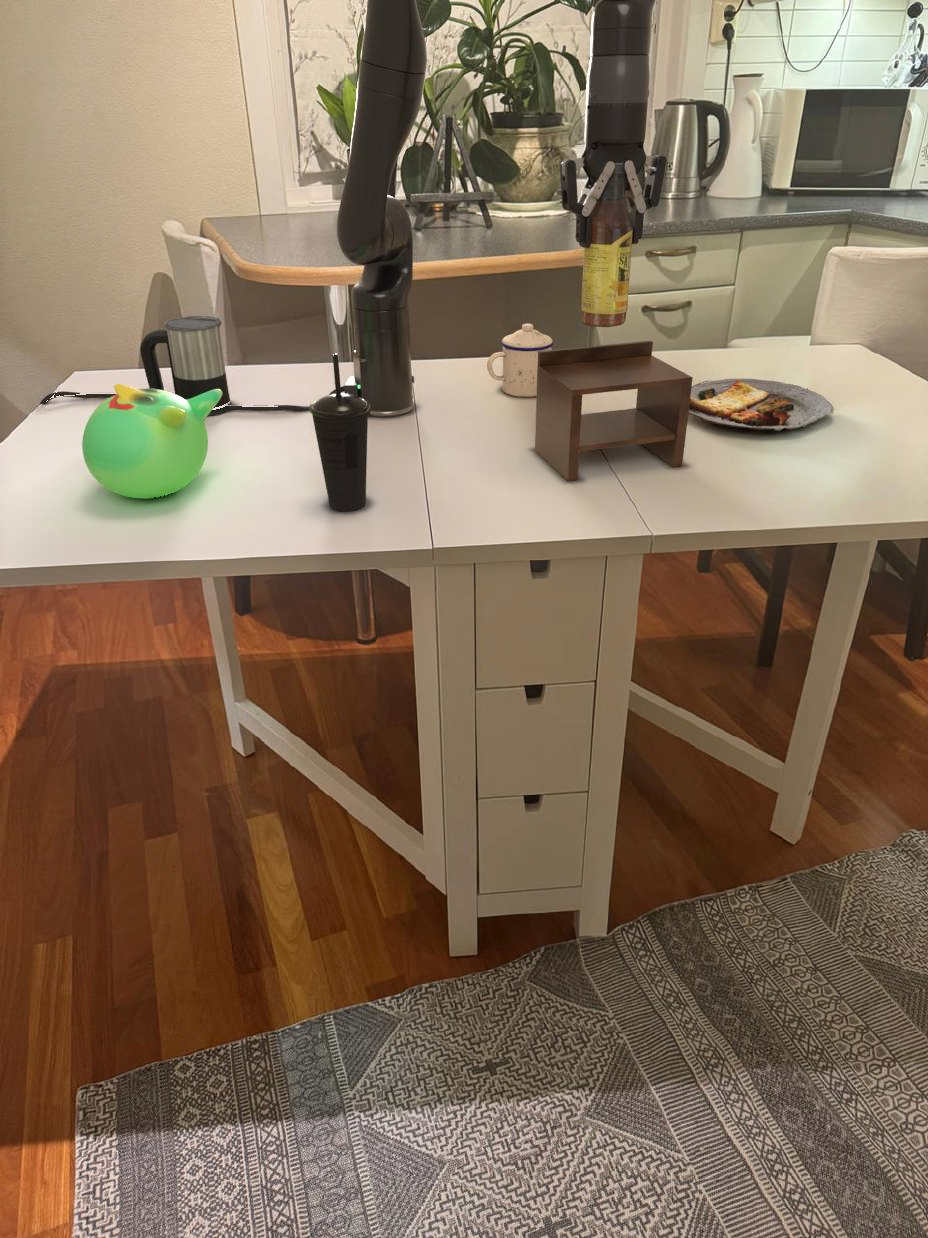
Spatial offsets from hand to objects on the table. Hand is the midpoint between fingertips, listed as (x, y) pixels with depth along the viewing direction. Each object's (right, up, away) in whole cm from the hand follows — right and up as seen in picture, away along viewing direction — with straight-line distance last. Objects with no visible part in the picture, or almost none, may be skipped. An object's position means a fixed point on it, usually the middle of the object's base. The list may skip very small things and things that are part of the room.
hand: (608, 244), depth 120 cm
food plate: (+29, -15, +32) cm, 46 cm away
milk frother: (-65, -15, +35) cm, 75 cm away
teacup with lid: (-9, -8, +45) cm, 46 cm away
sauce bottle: (0, -9, +5) cm, 10 cm away
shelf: (+2, -25, +16) cm, 30 cm away
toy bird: (-61, -32, +7) cm, 69 cm away
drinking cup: (-35, -34, +2) cm, 49 cm away
